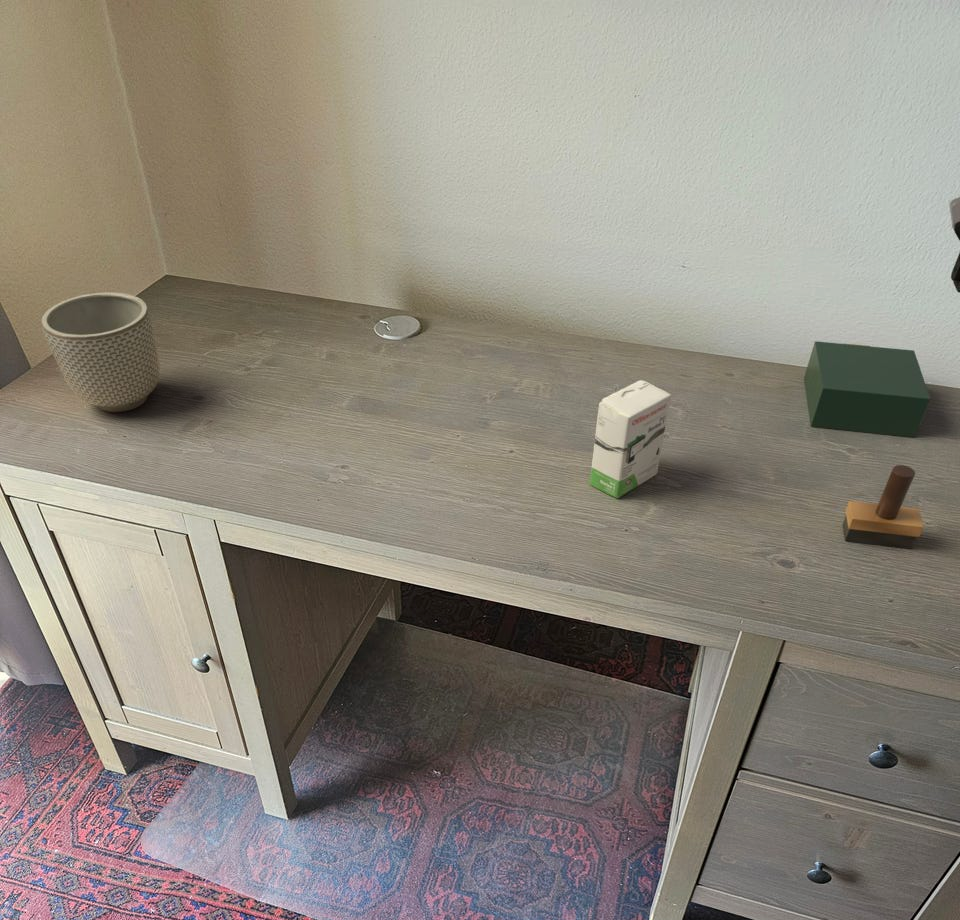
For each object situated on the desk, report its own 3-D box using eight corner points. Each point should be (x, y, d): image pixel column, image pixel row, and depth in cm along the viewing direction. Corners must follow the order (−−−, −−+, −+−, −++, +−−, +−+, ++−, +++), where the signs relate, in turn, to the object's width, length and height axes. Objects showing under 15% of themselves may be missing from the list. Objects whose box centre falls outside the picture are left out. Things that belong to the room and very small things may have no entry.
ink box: (616, 500, 109) (629, 417, 100) (587, 483, 111) (596, 401, 103) (659, 473, 113) (674, 392, 104) (629, 458, 115) (642, 377, 107)
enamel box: (901, 388, 129) (916, 350, 125) (916, 438, 119) (933, 399, 115) (803, 378, 131) (814, 340, 127) (810, 426, 121) (822, 388, 117)
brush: (908, 532, 105) (938, 466, 98) (912, 550, 102) (944, 484, 95) (840, 523, 106) (865, 458, 99) (843, 542, 103) (869, 475, 96)
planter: (128, 367, 132) (103, 283, 122) (191, 394, 126) (169, 308, 117) (51, 406, 124) (17, 318, 114) (115, 436, 118) (85, 347, 109)
